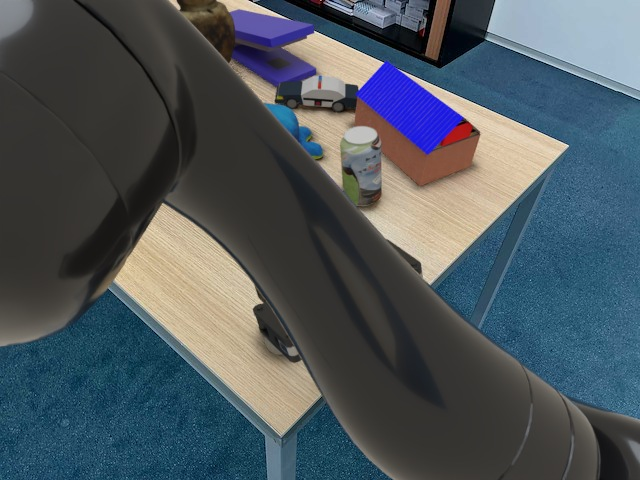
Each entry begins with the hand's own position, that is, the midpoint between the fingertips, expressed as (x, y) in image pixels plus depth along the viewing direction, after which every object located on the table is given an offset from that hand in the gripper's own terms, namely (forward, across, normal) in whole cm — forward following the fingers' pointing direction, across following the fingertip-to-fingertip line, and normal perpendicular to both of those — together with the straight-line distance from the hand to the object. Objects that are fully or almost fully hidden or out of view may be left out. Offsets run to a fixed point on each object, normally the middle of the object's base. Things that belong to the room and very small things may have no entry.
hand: (299, 261), depth 52 cm
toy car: (+51, -32, +5) cm, 60 cm away
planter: (+9, +1, +16) cm, 18 cm away
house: (+33, -39, +12) cm, 52 cm away
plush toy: (+42, -16, +6) cm, 45 cm away
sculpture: (+67, -17, -2) cm, 69 cm away
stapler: (+72, -31, -3) cm, 79 cm away
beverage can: (+26, -22, +12) cm, 36 cm away
